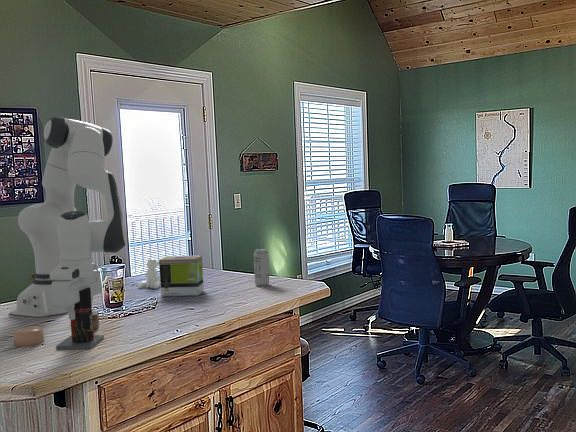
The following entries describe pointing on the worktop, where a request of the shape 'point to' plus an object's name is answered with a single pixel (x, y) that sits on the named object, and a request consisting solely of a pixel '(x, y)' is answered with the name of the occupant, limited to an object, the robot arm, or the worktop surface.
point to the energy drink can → (261, 267)
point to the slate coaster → (87, 345)
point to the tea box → (181, 275)
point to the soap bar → (28, 336)
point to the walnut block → (95, 319)
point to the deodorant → (83, 318)
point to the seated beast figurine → (151, 276)
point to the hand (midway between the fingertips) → (80, 315)
